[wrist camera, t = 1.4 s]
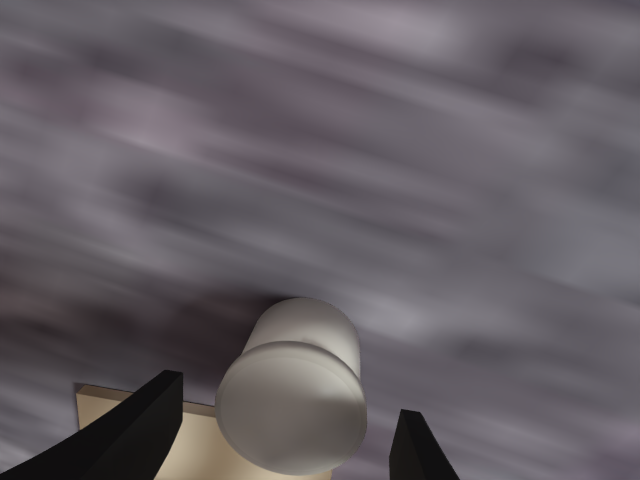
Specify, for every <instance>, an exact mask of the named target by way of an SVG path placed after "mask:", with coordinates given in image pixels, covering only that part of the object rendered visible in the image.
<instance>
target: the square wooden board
mask: <svg viewBox="0 0 640 480" xmlns="http://www.w3.org/2000/svg"><path fill="white" fill-rule="evenodd" d="M132 394H133V393H130V392H125V391H119V390H113V389H107V388H102V387H96V386H90V385H84V386H83V387H82V388H81V389H80V390H79V391H78V392H77V393H76V396H77V405H78V415H79V425H80V430H81V429H83V428H84V427H86V426H87V425H89V424H90V423H92V422H93V421H95V420H96V419H98V418H99V417H101V416H102V415H104V414H105V413H107V412H108V411H109V410H111V409H112V408H114V407H115V406H116V405H118V404H119V403H121V402H122V401H123V400H125V399H126V398H128V397H129V396H130V395H132ZM331 474H332V469H331V470H329V471H326V472H323V473H319V474H314V475H304V476H293V475H284V474H279V473H275V472H271V471H268V470H265V469H263V468H261V467H258V466H256V465H254V464H253V463H251V462H249V461H247V460H246V459H245V458H243V457H242V456H241V455H239V454H238V453H237V452H236V451H235V450H234V449H233V448H232V447H231V446H230V445H229V444H228V442H227V441H226V439H225V438H224V437H223V435H222V433H221V431H220V429H219V427H218V424H217V421H216V416H215V407H211V406H205V405H200V404H194V403H188V402H183V422H182V424H181V427H180V429H179V431H178V434H177V436H176V438H175V441H174V443H173V445H172V447H171V450H170V452H169V454H168V455H167V457H166V459H165V461H164V463H163V464H162V466H161V468H160V470H159V471H158V473H157V475H156V477H155V478H154V480H331Z"/></svg>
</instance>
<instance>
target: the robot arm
mask: <svg viewBox="0 0 640 480" xmlns="http://www.w3.org/2000/svg"><path fill="white" fill-rule="evenodd" d="M182 422H183V373H182V372H176V371H170V370H164V371H163V372H161V373H160V374H159V375H157V376H156V377H155V378H153V379H152V380H151V381H149V382H148V383H147V384H145V385H144V386H143V387H141V388H140V389H138V390H137V391H136V392H134V393H133V394H132V395H130V396H129V397H128V398H126V399H125V400H123V401H122V402H121V403H119V404H118V405H116V406H115V407H114V408H112V409H111V410H109V411H108V412H107V413H105V414H104V415H102V416H101V417H99V418H98V419H96V420H95V421H93V422H92V423H90V424H89V425H87V426H86V427H84V428H83V429H81V430H80V431H78V432H76V433H75V434H73V435H72V436H70V437H68V438H67V439H65V440H63V441H62V442H60V443H58V444H57V445H55V446H53V447H51V448H49V449H48V450H46V451H44V452H42V453H41V454H39V455H37V456H35V457H33V458H31V459H29V460H27V461H25V462H23V463H21V464H19V465H17V466H15V467H13V468H11V469H9V470H7V471H5V472H3V473H1V474H0V480H154V478H155V477H156V475H157V473H158V471H159V470H160V468H161V466H162V464H163V463H164V461H165V459H166V457H167V455H168V454H169V452H170V450H171V447H172V445H173V443H174V441H175V438H176V436H177V434H178V431H179V429H180V427H181V424H182ZM389 467H390V480H460V479H459V477H458V476H457V474H456V472H455V471H454V469H453V468H452V466H451V464H450V463H449V461H448V460H447V458H446V456H445V455H444V453H443V451H442V450H441V448H440V446H439V444H438V443H437V441H436V439H435V437H434V436H433V434H432V432H431V430H430V428H429V426H428V425H427V423H426V421H425V419H424V417H423V415H422V414H421V413H420V412H416V411H410V410H404V409H401V412H400V416H399V420H398V424H397V428H396V432H395V436H394V440H393V444H392V448H391V452H390V456H389Z"/></svg>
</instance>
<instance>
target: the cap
mask: <svg viewBox="0 0 640 480" xmlns="http://www.w3.org/2000/svg"><path fill="white" fill-rule="evenodd" d="M215 416H216V421H217V424H218V427H219V429H220V431H221V433H222V435H223V437H224V438H225V439H226V441H227V442H228V444H229V445H230V446H231V447H232V448H233V449H234V450H235V451H236V452H237V453H238V454H239V455H241V456H242V457H243V458H245V459H246V460H247V461H249V462H251V463H253V464H254V465H256V466H258V467H261V468H263V469H265V470H268V471H271V472H275V473H279V474H284V475H293V476H304V475H314V474H319V473H323V472H326V471H329V470H331V469H334V468H336V467H338V466H339V465H341V464H343V463H344V462H346V461H347V460H348V459H349V458H351V456H352V455H353V454H354V453H355V452H356V451H357V450H358V448H359V447H360V445H361V443H362V441H363V439H364V436H365V433H366V428H367V404H366V397H365V392H364V389H363V387H362V384H361V382H360V343H359V337H358V334H357V331H356V329H355V327H354V325H353V324H352V323H351V321H350V320H349V319H348V317H347V316H346V315H345V314H344V313H342V312H341V311H340V310H339V309H337V308H336V307H334V306H333V305H330V304H328V303H326V302H324V301H321V300H317V299H312V298H292V299H287V300H283V301H281V302H279V303H276V304H275V305H273V306H271V307H270V308H268V309H267V310H266V311H265V312H264V313H263V314H262V315H261V316H260V318H259V319H258V321H257V323H256V325H255V327H254V329H253V331H252V333H251V335H250V337H249V339H248V341H247V344H246V346H245V348H244V350H243V352H242V354H241V355H240V356H239V357H238V358H237V359H236V360H235V361H234V362H233V363H232V364H231V366H230V367H229V368H228V370H227V372H226V374H225V376H224V378H223V380H222V382H221V384H220V386H219V388H218V391H217V394H216V398H215Z"/></svg>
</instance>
